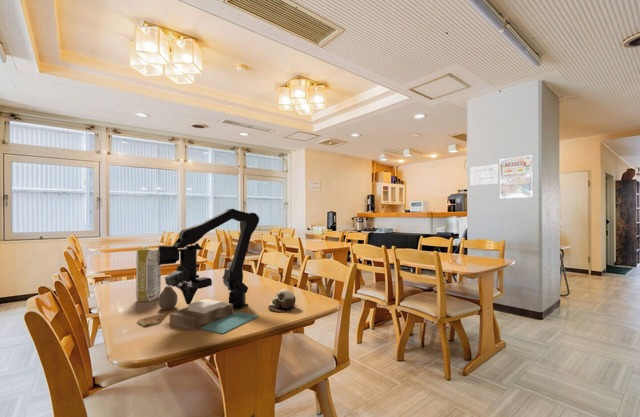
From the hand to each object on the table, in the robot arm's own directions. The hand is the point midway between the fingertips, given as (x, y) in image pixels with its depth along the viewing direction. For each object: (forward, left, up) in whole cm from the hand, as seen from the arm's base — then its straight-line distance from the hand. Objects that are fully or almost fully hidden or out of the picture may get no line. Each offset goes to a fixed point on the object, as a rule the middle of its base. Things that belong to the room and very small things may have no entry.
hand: (188, 304), depth 112 cm
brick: (0, +8, -5) cm, 9 cm away
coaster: (0, +9, -1) cm, 9 cm away
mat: (-2, +19, -5) cm, 20 cm away
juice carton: (-8, -36, -5) cm, 37 cm away
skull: (-24, +26, -5) cm, 36 cm away
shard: (+9, -9, -5) cm, 14 cm away
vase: (-3, -15, -5) cm, 16 cm away
